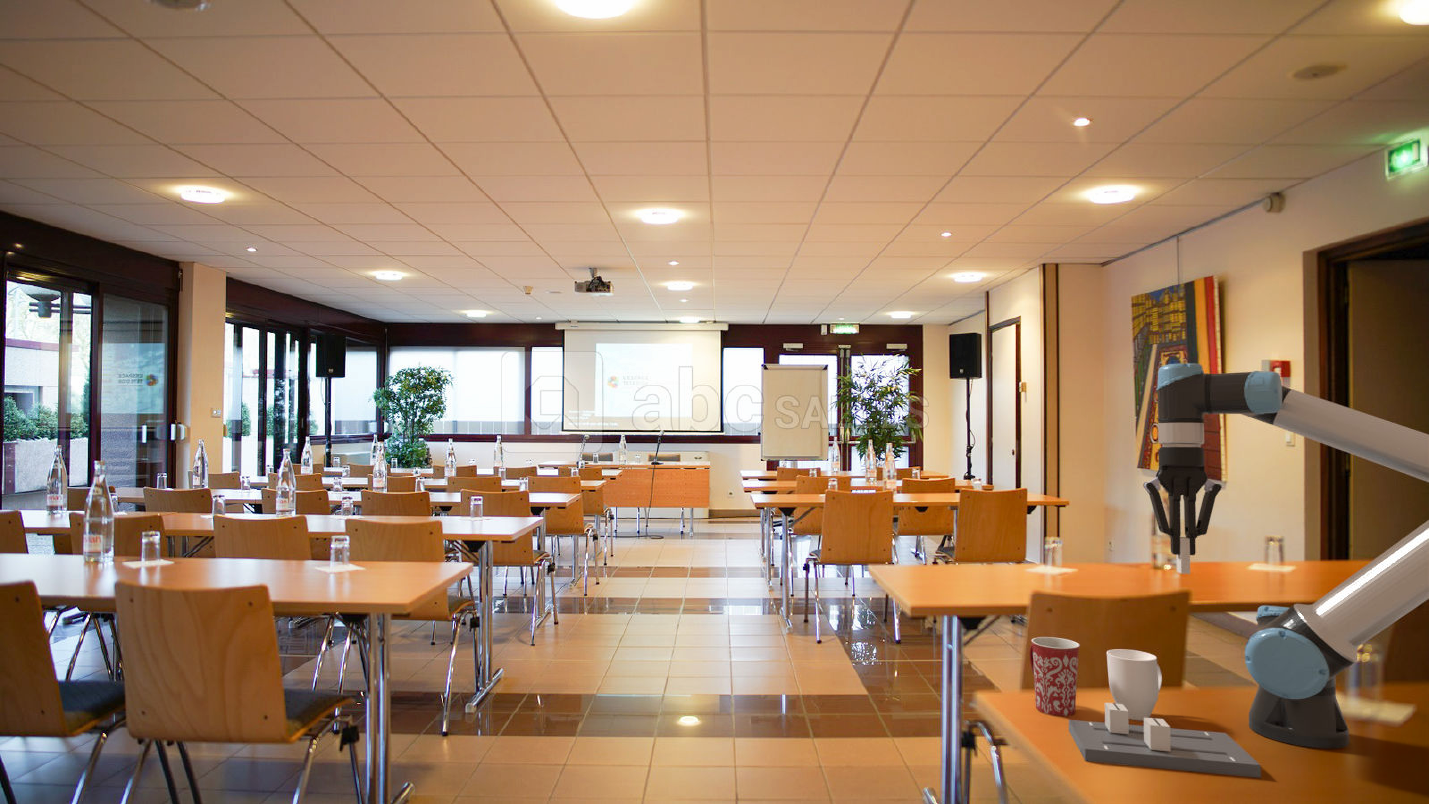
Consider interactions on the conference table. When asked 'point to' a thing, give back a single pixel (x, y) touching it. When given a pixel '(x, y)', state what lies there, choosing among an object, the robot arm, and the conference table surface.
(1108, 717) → the block
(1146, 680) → the mug
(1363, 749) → the conference table surface
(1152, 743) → the fader
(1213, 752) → the console
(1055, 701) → the mug
